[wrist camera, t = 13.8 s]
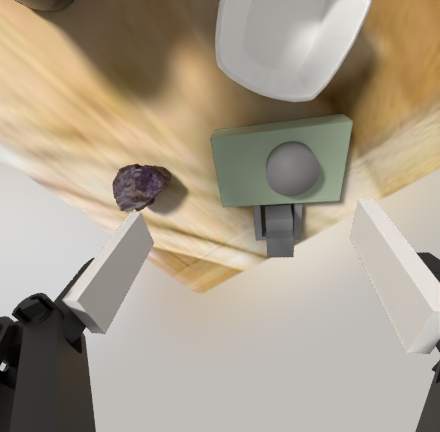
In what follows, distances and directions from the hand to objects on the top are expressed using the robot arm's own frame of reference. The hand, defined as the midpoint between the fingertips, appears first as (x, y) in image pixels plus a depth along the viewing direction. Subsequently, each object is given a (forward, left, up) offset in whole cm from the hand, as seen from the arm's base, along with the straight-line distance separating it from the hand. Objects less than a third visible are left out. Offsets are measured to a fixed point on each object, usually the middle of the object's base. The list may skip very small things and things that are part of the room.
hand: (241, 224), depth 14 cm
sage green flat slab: (+4, -15, -32) cm, 35 cm away
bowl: (+5, +11, -32) cm, 34 cm away
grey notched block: (+4, -22, -32) cm, 39 cm away
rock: (-24, -10, -32) cm, 41 cm away
